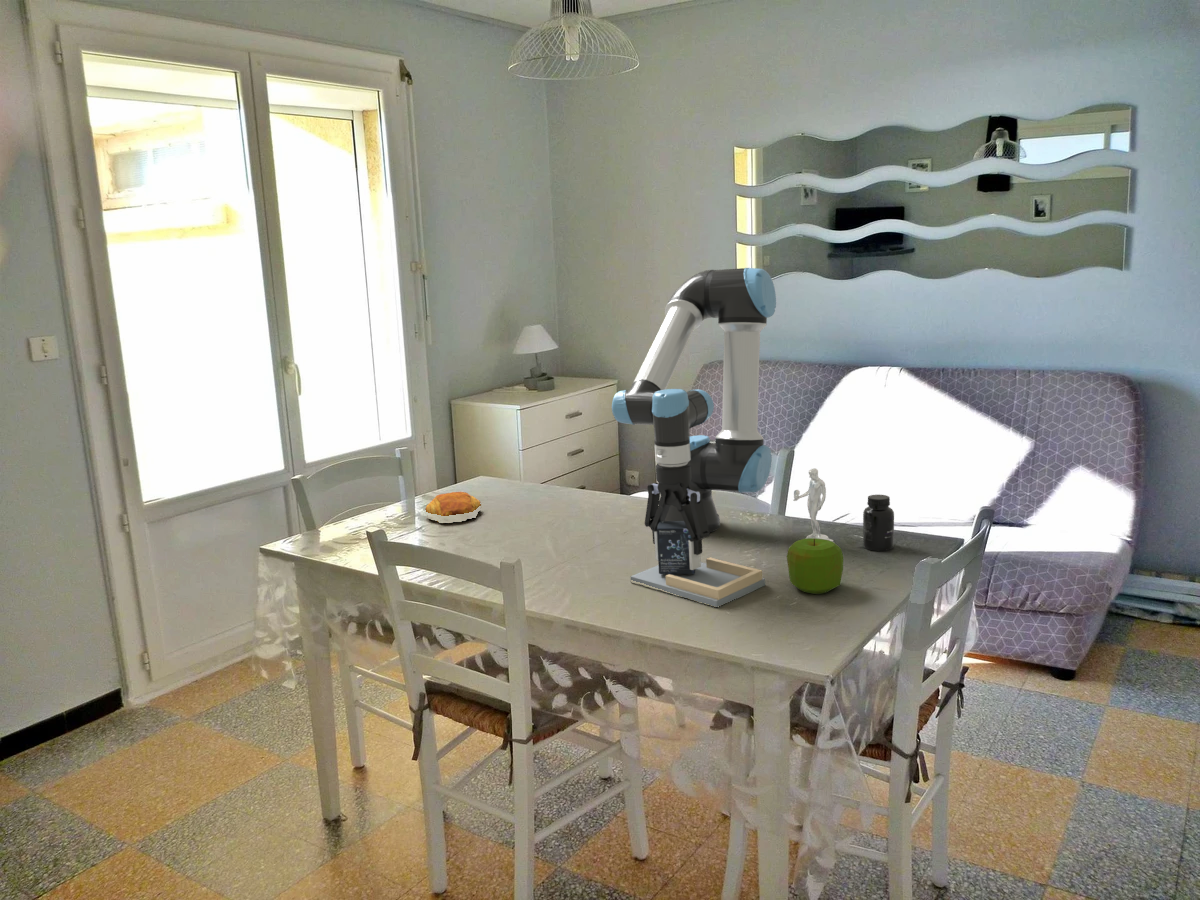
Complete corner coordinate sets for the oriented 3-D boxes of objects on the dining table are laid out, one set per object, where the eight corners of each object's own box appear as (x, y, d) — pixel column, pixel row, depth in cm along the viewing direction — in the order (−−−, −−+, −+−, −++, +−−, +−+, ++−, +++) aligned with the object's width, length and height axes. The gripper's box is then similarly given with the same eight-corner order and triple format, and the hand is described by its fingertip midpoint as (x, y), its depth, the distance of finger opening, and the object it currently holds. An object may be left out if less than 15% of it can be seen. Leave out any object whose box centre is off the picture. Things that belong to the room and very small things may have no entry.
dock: (630, 582, 207) (629, 567, 206) (679, 562, 218) (679, 548, 217) (716, 608, 190) (715, 591, 189) (765, 585, 201) (764, 569, 200)
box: (658, 575, 205) (656, 528, 203) (661, 566, 210) (659, 520, 208) (695, 574, 204) (693, 527, 201) (697, 566, 209) (695, 519, 207)
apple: (853, 586, 197) (852, 535, 195) (824, 601, 190) (823, 549, 187) (807, 575, 205) (806, 526, 203) (777, 589, 198) (776, 539, 195)
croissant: (429, 521, 273) (422, 494, 272) (482, 507, 275) (475, 481, 274) (428, 534, 259) (421, 506, 258) (484, 520, 261) (477, 492, 259)
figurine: (792, 539, 229) (790, 466, 225) (816, 534, 231) (815, 462, 227) (812, 549, 221) (810, 474, 217) (836, 544, 224) (836, 469, 220)
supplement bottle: (895, 552, 216) (895, 500, 213) (864, 551, 217) (863, 501, 214) (892, 542, 222) (892, 492, 220) (862, 542, 224) (861, 493, 221)
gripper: (624, 460, 207) (629, 558, 212) (700, 473, 191) (705, 578, 196) (648, 453, 212) (653, 549, 217) (724, 465, 196) (728, 568, 201)
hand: (677, 563), depth 207 cm, fingers closed on box, 9 cm apart
